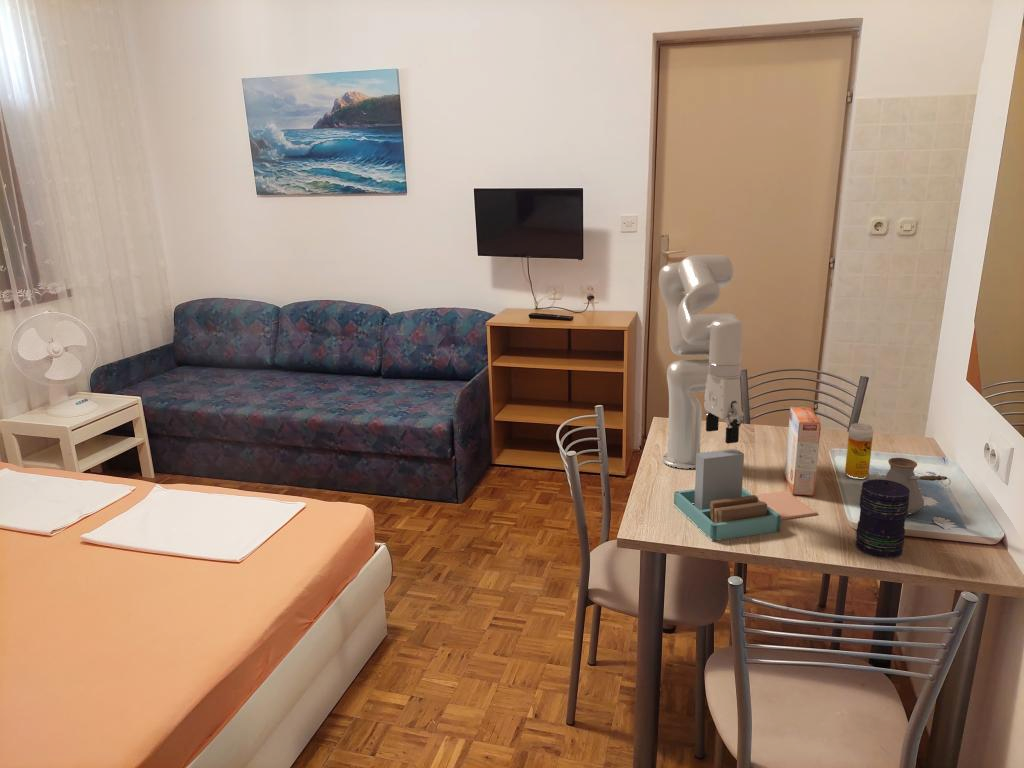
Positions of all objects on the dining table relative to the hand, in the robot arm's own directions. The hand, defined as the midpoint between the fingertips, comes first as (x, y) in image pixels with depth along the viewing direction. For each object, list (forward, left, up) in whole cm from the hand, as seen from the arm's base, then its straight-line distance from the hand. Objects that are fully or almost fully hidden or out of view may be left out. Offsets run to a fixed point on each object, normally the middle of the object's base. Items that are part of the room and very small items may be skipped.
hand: (721, 436), depth 182 cm
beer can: (-10, +49, -21) cm, 54 cm away
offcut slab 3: (+11, 0, -21) cm, 24 cm away
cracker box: (-9, +30, -21) cm, 37 cm away
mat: (+1, +17, -21) cm, 27 cm away
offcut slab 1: (+7, 0, -21) cm, 22 cm away
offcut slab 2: (+9, 0, -21) cm, 23 cm away
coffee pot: (+16, +44, -21) cm, 51 cm away
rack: (+3, 0, -21) cm, 21 cm away
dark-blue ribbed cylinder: (+27, +26, -21) cm, 43 cm away
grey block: (0, 0, -21) cm, 21 cm away
